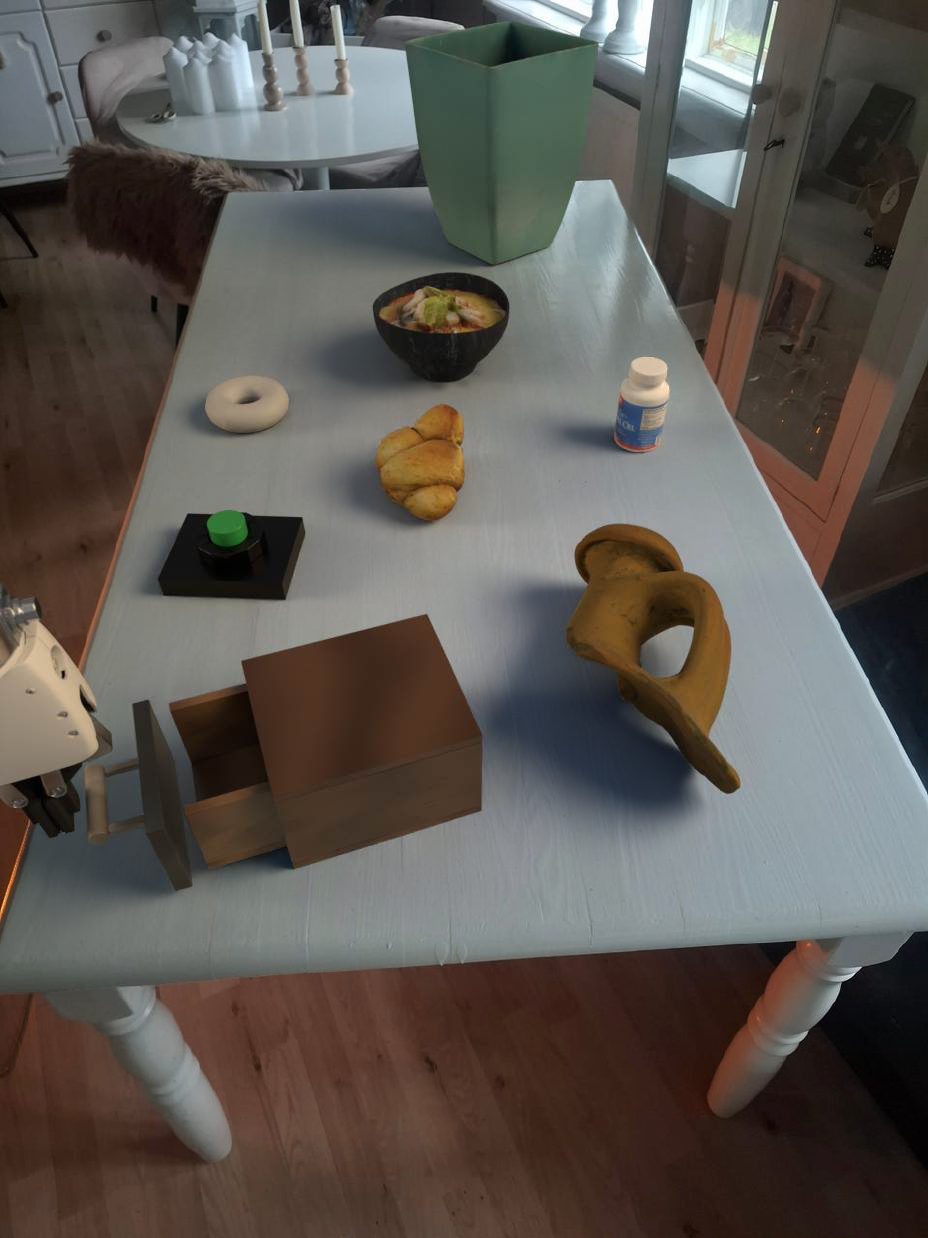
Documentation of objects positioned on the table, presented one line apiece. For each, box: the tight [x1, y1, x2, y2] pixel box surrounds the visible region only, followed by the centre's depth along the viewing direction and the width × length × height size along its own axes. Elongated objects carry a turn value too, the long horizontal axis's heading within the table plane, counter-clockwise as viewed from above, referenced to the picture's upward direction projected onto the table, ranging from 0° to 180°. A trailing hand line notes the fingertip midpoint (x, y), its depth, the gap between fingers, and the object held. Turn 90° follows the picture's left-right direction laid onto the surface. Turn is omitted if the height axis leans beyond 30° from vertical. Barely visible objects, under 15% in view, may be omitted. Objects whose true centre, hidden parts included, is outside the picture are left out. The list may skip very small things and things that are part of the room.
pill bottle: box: [613, 356, 670, 453], centre depth 97 cm, size 6×5×10 cm
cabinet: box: [240, 613, 483, 870], centre depth 65 cm, size 15×13×10 cm
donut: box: [204, 374, 290, 434], centre depth 104 cm, size 10×4×10 cm
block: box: [156, 511, 306, 601], centre depth 85 cm, size 12×10×4 cm
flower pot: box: [404, 20, 600, 266], centre depth 131 cm, size 20×20×28 cm
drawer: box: [83, 682, 287, 892], centre depth 63 cm, size 18×11×8 cm, turn 109°
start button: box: [207, 509, 248, 547], centre depth 83 cm, size 4×4×2 cm
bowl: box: [372, 271, 511, 383], centre depth 110 cm, size 17×17×10 cm
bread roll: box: [374, 403, 465, 522], centre depth 91 cm, size 13×10×8 cm
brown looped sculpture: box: [564, 523, 741, 795], centre depth 70 cm, size 18×13×22 cm
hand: (62, 817), depth 60 cm, fingers closed
